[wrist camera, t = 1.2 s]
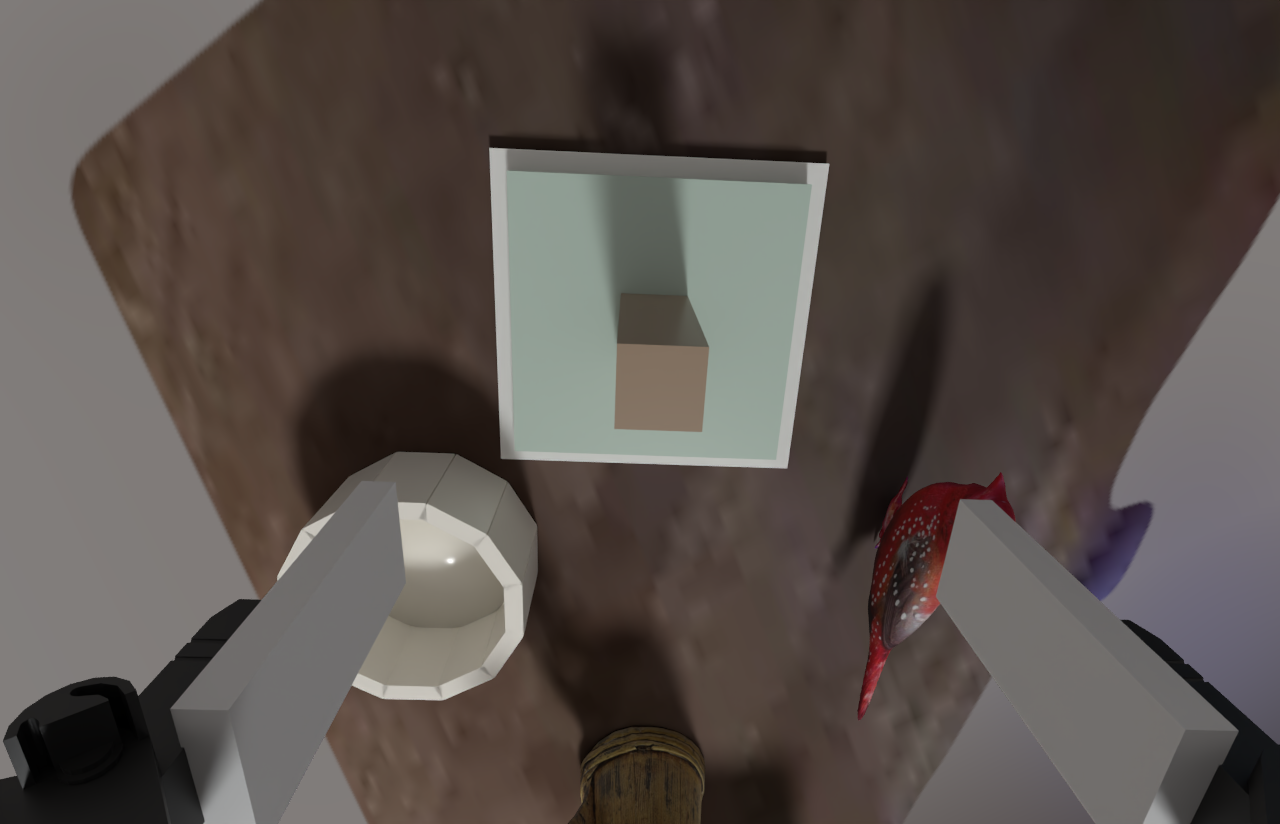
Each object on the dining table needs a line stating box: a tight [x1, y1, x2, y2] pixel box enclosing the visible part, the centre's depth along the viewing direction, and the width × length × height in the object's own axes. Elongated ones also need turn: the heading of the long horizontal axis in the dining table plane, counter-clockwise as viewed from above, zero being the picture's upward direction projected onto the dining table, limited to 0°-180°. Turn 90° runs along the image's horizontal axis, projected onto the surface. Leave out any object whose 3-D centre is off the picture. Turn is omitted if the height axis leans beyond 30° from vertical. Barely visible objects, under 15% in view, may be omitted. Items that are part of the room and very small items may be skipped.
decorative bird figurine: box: [858, 473, 1015, 720], centre depth 37 cm, size 3×18×10 cm, turn 166°
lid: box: [507, 170, 812, 460], centre depth 30 cm, size 15×15×11 cm
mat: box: [489, 148, 829, 468], centre depth 36 cm, size 17×17×1 cm
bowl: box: [277, 452, 538, 700], centre depth 38 cm, size 13×13×6 cm
